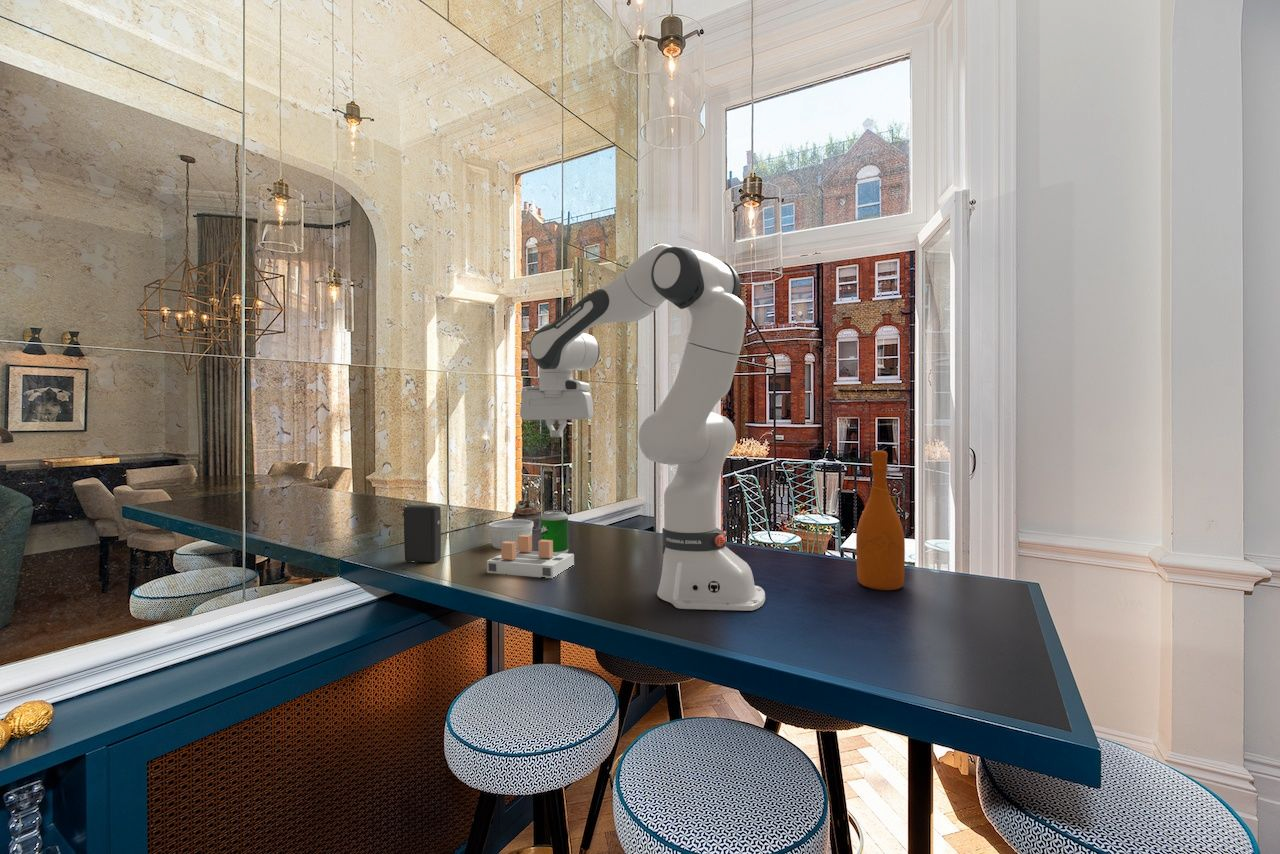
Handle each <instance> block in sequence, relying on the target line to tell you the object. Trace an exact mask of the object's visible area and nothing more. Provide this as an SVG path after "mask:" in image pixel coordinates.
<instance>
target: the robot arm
mask: <svg viewBox="0 0 1280 854" xmlns="http://www.w3.org/2000/svg"><path fill="white" fill-rule="evenodd" d="M740 291H741V279H740V277H739V274H738V273H737V271H736V270H735V269H734V268H733V267H732V266H731V265H730V264H729V263H727V262H725V261H721V260H720V259H717V258H716V257H713V256H712V255H710V254H709V253H706V252H702V251H700V250H695V249H691V248H689V247H687V246H680V245H679V246H677V245H676V246H675V245H674V246H671V245H669V244H665V243H661V244H657V245H653V247H651V248H650V249H648V250H646V252H643V254H641V255H640V256H639V257H637V258H636V260H634V261H633V262H631V264H630V265H629V266H627V268H626V269H625V270H624V271H623V272H622V273H620V274H619V275H618V276H617V277H616V278H614V279H613V280H611V281H610V282H609V283H607V284H605V285H604V286H602V287H600V288H598V289H595V290H594V291H591V293H589V294H587V295H586V296H584V297H583V298H581V299H579V301H578V302H577V303H575V304H574V305H573V306H572V307H570V308H569V309H568V310H566V312H564V313H563V314H561V316H560V317H558V318H557V319H555V321H553V322H549V323H547V324H544V325H543V326H542V327H540V328H539V329H538V330H537V331H536V332H535V333H534V335H533V336H532V338H531V340H530V342H529V353H530V356H531V359H533V361H534V363H535V364H536V365H537V366H538V367H539V371H538V383H539V384H538V385H528V386H525V387H524V388H523V389H522V390H521V393H520V395H521V396H520V398H521V401H520V409H519V416H520V419H521V420H524V421H539V420H542V421H545V424H546V426H547V428H548V431H549V435H550V438H563V437H564V430H565V428H566V426H567V424H568V420H592V418H593V417H594V412H595V411H594V401H593V396H592V395H591V393H590V392H589V391H590V389H591V384H589V383H588V382H585V381H583V380H582V381H581V380H579V379H576V378H574V377H573V371H582V372H583V371H587V370H588V371H589V370H592V369H593V368H594V367H595V366H596V364H597V363H598V361H599V358H600V354H601V353H600V344H599V342H598V341H597V338H595V336H594V335H591V334H589V333H585V332H587V331H588V330H589V329H591V328H593V327H595V326H598V325H603V324H610V323H632V322H633V323H634V322H638V321H641V320H642V319H644V318H646V317H648V316H650V315H651V314H652V313H653V312H654V311H655V310H657V309H658V308H659V307H660V306H661V305H662V304H663V303H664V302H665V301H668V302H670V303H671V304H673V305H675V307H677V308H678V309H680V310H683V309H687V310H688V311H689V313H690V316H691V324H690V329H689V332H688V335H687V339H686V340H687V341H686V344H685V347H684V350H683V355H682V359H681V362H680V365H679V369H678V373H677V375H676V378H675V380H674V383H673V384H672V387H671V389H670V390H669V391H668V393H667V395H666V396H665V398H664V400H663V401H662V402H661V404H660V406H659V407H658V408H657V409H656V410H655V411H654V412H653V413H652V414H650V415H649V416H647V417H646V418H645V419H644V420H643V422H642V423H641V425H640V428H639V431H638V444H639V449H640V451H641V452H642V454H643V455H644V457H645V458H646V459H647V460H649V461H651V462H654V463H659V464H663V465H667V466H668V465H669V466H674V465H677V467H676V471H675V475H674V477H673V479H672V480H671V482H670V483H669V484H668V485H667V487H666V488H665V490H664V494H663V523H664V524H663V525H664V527H662V531H661V550H662V555H663V557H662V558H663V561H662V566H661V567H662V569H661V570H662V571H661V575H660V576H661V577H660V582H659V585H658V589H657V592H656V595H657V597H658V598H659V599H661V600H663V601H665V602H667V603H670V604H671V605H673V606H674V607H675V608H676V609H681V610H711V611H714V610H715V611H716V610H717V611H746V612H747V611H751V612H752V611H755V610H758V609H759V608H760V607H763V605H764V604H765V602H766V592H765V590H764V589H763V588H762V587H761V586H760V585H755V581H754V580H755V579H754V575H753V571H752V569H751V566H749V564H748V562H746V561H745V560H743V559H742V558H741V557H739V555H737V554H736V553H734V552H733V551H732V550H730V549H729V548H728V547H727V531H726V530H724V531H723V530H721V529H720V528H718V527H717V499H718V498H717V497H718V495H717V494H718V487H719V482H720V478H721V475H722V471H723V467H724V464H725V461H726V459H727V457H728V455H729V454H730V453H731V452H732V450H733V449H734V447H735V445H736V441H737V434H736V432H737V431H736V428H735V426H734V424H733V422H732V421H731V420H730V419H729V418H728V417H726V416H723V415H721V414H718V413H716V412H713V411H714V409H715V407H716V405H717V404H718V403H719V402H720V400H721V399H722V398H724V397H725V396H726V395H727V394H728V393H729V391H730V390H731V386H732V382H733V379H734V377H735V372H736V369H737V365H738V361H739V358H740V354H741V351H742V346H743V341H744V337H745V330H746V322H747V307H746V305H745V303H744V301H743V300H741V298H739V297H738V296H739V295H740ZM555 420H558V425H559V427H558V429H557V430H556V428H555V427H554V424H555Z"/></svg>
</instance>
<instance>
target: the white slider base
mask: <svg viewBox="0 0 1280 854" xmlns="http://www.w3.org/2000/svg"><path fill="white" fill-rule="evenodd" d="M572 565H574V566H575V554H574V553H568V552H567V553H553V556H552V557H551V558H541V557H538V551H535V550H532V551H530V552H518V549H516V558H515V559H513V560H507V559H501V554H499V555H497V556H494V557H493V558H490V559H488V560H486V573H487V574H494V575H495V574H496V575H506V574H507V576H518V577H519V576H520V577H532V578H541V577H545V578H544V579H554V578H553V577H555V576H556V577H558V576H559V575H561V574H562V573H561V572H563V571H564V570H566V569H568V568H569V567H571V566H572ZM571 568H572V567H571ZM569 569H570V568H569ZM569 569H568V570H569ZM566 571H567V570H566ZM564 572H565V571H564ZM564 572H563V573H564ZM560 573H561V574H560ZM558 574H559V575H558ZM557 575H558V576H557ZM556 577H555V578H556Z"/></svg>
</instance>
